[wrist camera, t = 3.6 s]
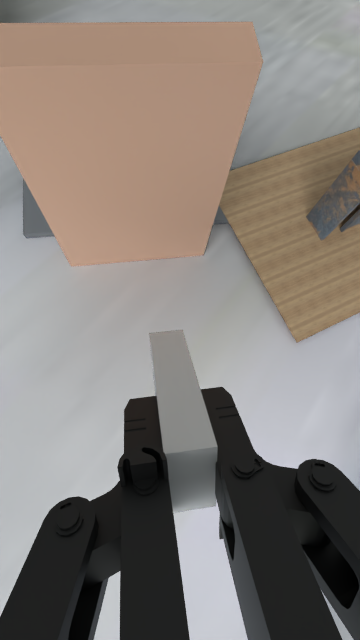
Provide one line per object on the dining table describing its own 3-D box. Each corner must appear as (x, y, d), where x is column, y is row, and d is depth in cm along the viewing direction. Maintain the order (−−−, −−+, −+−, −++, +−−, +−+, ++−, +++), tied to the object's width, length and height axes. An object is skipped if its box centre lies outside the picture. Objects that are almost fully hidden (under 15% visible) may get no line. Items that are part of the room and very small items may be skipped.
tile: (71, 266, 27) (-37, 67, 12) (69, 240, 28) (-34, 19, 12) (203, 255, 28) (263, 61, 13) (199, 230, 29) (251, 18, 14)
